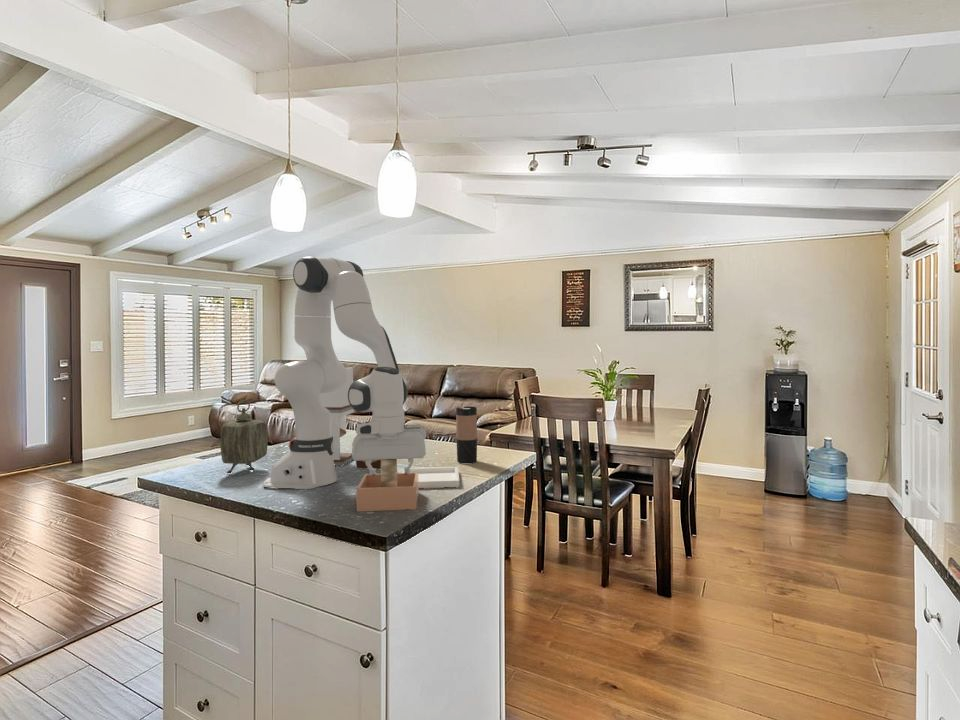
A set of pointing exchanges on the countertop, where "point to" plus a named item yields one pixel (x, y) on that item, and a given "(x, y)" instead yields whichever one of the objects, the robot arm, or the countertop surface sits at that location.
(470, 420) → the travel mug
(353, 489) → the countertop surface
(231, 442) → the tabletop clock
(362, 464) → the food container
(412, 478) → the peach storage bin
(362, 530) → the countertop surface
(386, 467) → the dowel pin
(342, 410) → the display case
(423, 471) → the tray
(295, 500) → the countertop surface
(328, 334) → the robot arm
